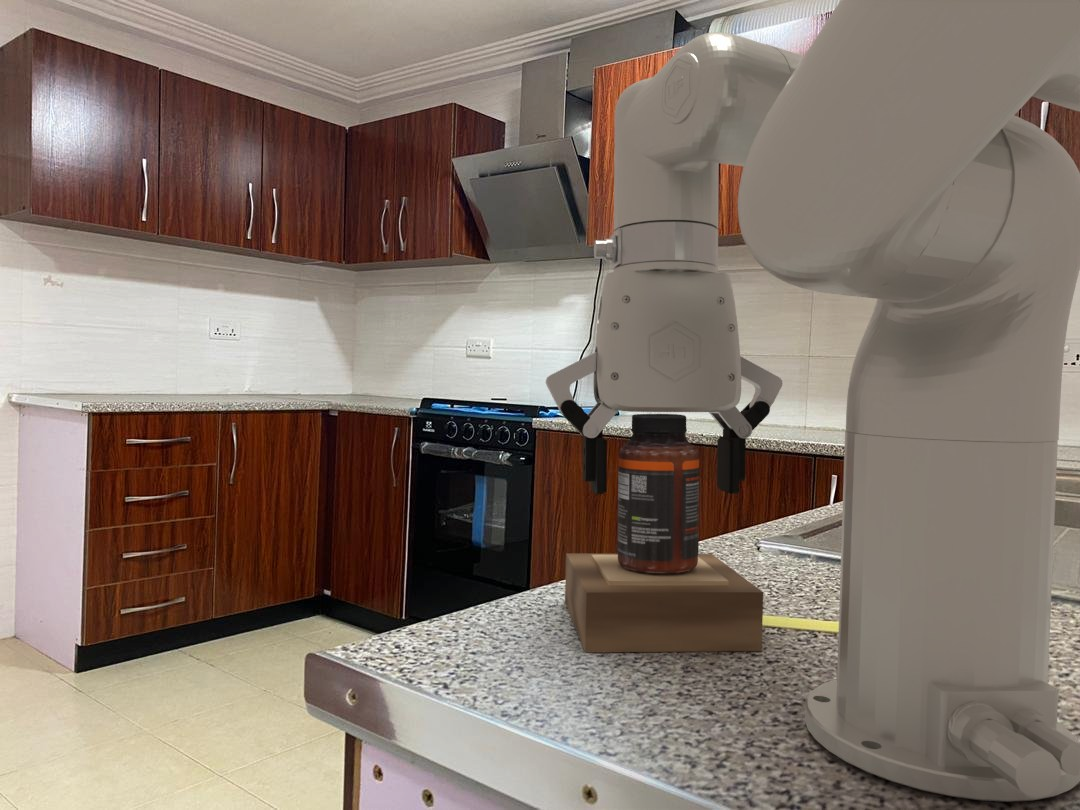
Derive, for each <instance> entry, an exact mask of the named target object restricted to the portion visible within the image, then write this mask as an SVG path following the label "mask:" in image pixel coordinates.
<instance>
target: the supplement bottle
mask: <svg viewBox="0 0 1080 810" xmlns="http://www.w3.org/2000/svg"><path fill="white" fill-rule="evenodd" d="M630 431H631V433H632V436H630V438H629V439H628V441H627V442H626V443H624V444H623V445H622V446H621V448H620V449H619V451H618V452H619V453H618V470H617V471H618V472H617V473H618V483H617V485H618V489H617V495H618V497H617V500H618V501H617V504H618V505H617V554H618V562H619V564H620V565H621V566H623V567H624V568H625V569H627V570H631V571H636V572H641V573H647V574H662V575H664V574H679V573H685V572H688V571H690V570H692V569H694V568H695V567H696V566H697V563H698V554H699V544H700V543H699V538H700V537H699V535H700V534H699V530H700V529H699V528H700V527H699V526H700V525H699V524H700V523H699V521H700V520H699V519H700V517H699V516H700V454H699V451H698V449H697V448H696V447H695V445H693V444H692V443H690V442H689V440H688V439H687V436H686V434H687V431H688V430H687V416H686V415H685V414H676V413H675V414H674V413H640V414H638V413H637V414H636V413H635V414H632V415H631V430H630Z"/></svg>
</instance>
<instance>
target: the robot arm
mask: <svg viewBox="0 0 1080 810" xmlns="http://www.w3.org/2000/svg"><path fill="white" fill-rule="evenodd" d="M1032 97H1034V98H1036V99H1039V100H1042V101H1045V102H1047V103H1051V104H1053V105H1055V106H1056V105H1057V106H1059V107H1062V108H1066V109H1069V110H1073V111H1076V112H1080V0H840V1H839V2H838V3H837V5H836V6H835V8H834V10H833V11H832V12H831V14H830V16H829V17H828V19H827V21H826V22H825V23H824V25H823V26H822V28H821V29H820V32H819V33H818V35H817V36H816V37H815V39H814V40H813V42H812V44H811V45H810V47H809V48H808V50H807V51H806V53H805V54H804V55H802V54H799V53H795V52H793V51H789V50H787V49H783V48H779V47H776V46H773V45H770V44H767V43H766V44H765V43H762V42H758V41H756V40H753V39H749V38H746V37H744V36H741V35H736V34H733V33H729V32H721V31H714V32H712V31H711V32H706V33H703V34H700V35H698V36H696V37H694V38H692V39H691V40H689V41H688V42H686V43H685V44H684V45H683V46H682V47H680V48H679V49H678V51H676V52H675V54H673V55H672V56H671V58H669V60H668V61H667V62H666V63H665V64H664V65H663V66H662V67H661V68H660V69H659V70H658V71H657V73H655V74H654V76H652V77H648V78H645V79H642V80H641V79H640V80H639V81H637V82H634V83H632V84H631V85H629V86H628V87H627V88H625V89H624V90H623V91H622V92H621V93H620V95H619V97H618V99H617V102H616V105H615V109H614V110H615V112H614V165H613V166H614V173H613V174H614V177H613V178H614V179H613V180H614V181H613V182H614V183H613V184H614V185H613V189H614V190H613V191H614V192H613V195H614V196H613V208H614V209H613V231H614V232H613V233H612V235H611V236H610V237H609V238H607V237H606V238H605V239H595V240H594V244H593V256H594V259H602V260H604V261H605V262H606V261H608V262H609V265H611V270H612V272H607V273H606V274H605V277H604V281H603V283H602V290H601V295H600V300H599V308H598V316H597V325H596V336H595V344H594V345H595V347H594V352H593V353H591V354H589V355H587V356H585V357H583V358H582V359H579V360H577V361H575V362H573V363H571V364H570V365H568V366H565V367H564V368H562V369H560V370H557V371H556V372H554V373H552V374H550V375H548V376H547V377H546V379H545V384H546V385H545V386H546V387H547V389H548V391H549V393H550V395H551V397H552V399H553V401H554V402H555V404H556V406H557V408H558V410H559V411H558V412H559V413H560V414H561V415H562V416H563V417H564V418H565V420H567V421H568V423H570V424H571V426H573V427H574V428H575V429H576V431H577V432H579V434H580V435H581V436H582V480H583V482H587V483H588V482H590V490H591V492H593V493H594V494H596V495H604V493H607V489H608V488H607V487H608V486H607V485H608V484H607V483H608V482H607V479H608V478H607V476H608V471H607V469H608V462H607V461H608V454H607V453H608V447H607V446H608V442H607V439H605V438H604V437H603V435H604V434H603V433H604V432H603V431H604V430H603V429H604V428H605V427H606V426H607V425H608V424H609V422H611V420H612V419H613V418H614V416H615V415H616V414H617V413H618V412H619V411H621V412H628V413H629V412H636V413H638V412H639V413H709V414H710V416H711V418H713V419H714V421H715V422H716V424H717V425H719V426H720V428H721V429H722V436H719V438H717V443H716V444H717V447H716V448H717V449H716V452H717V457H716V461H717V463H716V466H717V467H716V468H717V469H716V487H717V489H719V490H720V491H722V492H724V493H728V494H730V495H734V494H735V495H737V494H739V493H740V482H744V481H745V480H746V479H745V478H746V454H747V453H746V447H747V446H746V444H747V443H746V441H747V440H746V439H748V438H750V437H751V435H752V433H753V431H754V430H755V429H756V428H757V427H758V426H759V425H760V424H761V423H762V421H764V420H765V418H766V417H767V416H768V415H769V414H770V411H771V407H772V405H774V403H775V400H776V398H777V396H778V394H780V390H781V388H782V387H783V380H782V378H780V377H779V376H778V375H776V374H774V373H772V372H770V371H769V370H767V369H765V368H763V367H761V366H759V365H758V364H756V363H754V362H752V361H750V360H748V359H746V358H744V357H743V356H741V349H740V348H741V347H740V337H739V326H738V319H737V318H738V317H737V310H736V301H735V295H734V290H733V285H732V280H731V276H730V274H729V273H724V272H719V190H720V189H719V186H720V185H719V184H720V183H719V181H720V180H719V179H720V178H719V175H720V174H719V171H720V170H719V169H720V167H719V166H720V165H719V164H721V165H723V164H724V165H729V166H739V167H743V168H742V172H741V176H740V180H739V186H738V187H739V188H738V193H737V215H738V216H737V218H738V225H739V228H740V233H741V236H742V239H743V241H744V244H745V246H746V248H747V249H748V251H749V253H750V254H751V256H752V258H753V259H754V260H755V261H756V262H757V263H758V264H759V266H761V267H762V268H763V269H765V270H766V271H767V273H769V274H770V275H772V276H774V277H775V278H777V279H778V280H780V281H783V282H785V283H786V284H788V285H792V286H794V287H798V288H801V289H805V290H809V291H812V292H813V291H814V292H817V293H824V294H830V295H840V296H848V297H849V296H850V297H857V298H858V297H859V298H868V299H877V300H876V303H875V306H874V309H873V311H872V314H871V316H870V319H869V322H868V324H867V326H866V328H865V331H864V333H863V336H862V338H861V340H860V343H859V346H858V349H857V351H856V354H855V357H854V360H853V363H852V368H851V373H850V377H849V383H848V389H847V394H846V395H847V398H846V412H845V413H846V414H845V415H846V417H845V430H844V450H843V451H844V452H843V453H844V456H843V482H842V483H843V484H842V485H843V486H842V487H843V488H842V516H841V543H840V577H839V578H840V579H839V603H838V604H839V605H838V607H839V609H838V637H837V638H838V639H837V640H838V641H837V665H836V666H837V667H836V669H837V670H836V673H837V674H836V679H831V680H829V681H827V682H824V683H822V684H820V685H818V686H816V687H815V688H814V689H812V690H811V691H810V692H809V693H808V694H807V696H806V697H805V704H804V709H805V710H804V721H805V724H806V728H807V730H808V731H809V733H810V734H811V736H812V737H813V739H814V740H816V742H817V743H819V744H820V745H821V746H823V748H825V749H826V750H827V751H828V752H830V753H832V754H833V756H834V755H835V756H836V757H837V758H839V759H841V760H842V761H844V762H845V763H848V764H850V765H852V766H854V767H856V768H857V769H860V770H862V771H864V772H866V773H869V774H871V775H874V776H876V777H879V778H882V779H885V780H887V781H890V782H892V783H896V784H899V785H903V786H907V787H909V788H914V789H916V790H919V791H924V792H930V793H933V794H939V795H944V796H948V797H955V798H962V799H967V800H968V799H969V800H976V801H988V802H989V801H990V802H991V801H992V802H1005V803H1006V802H1008V803H1009V802H1011V803H1012V802H1025V801H1026V802H1029V801H1037V800H1043V799H1048V798H1053V797H1056V796H1059V795H1060V794H1064V793H1066V792H1068V791H1070V790H1072V789H1073V788H1075V787H1076V786H1077V785H1078V784H1079V783H1080V741H1079V739H1078V738H1077V737H1076V736H1075V735H1074V734H1072V732H1071V731H1069V729H1068V728H1067V727H1065V725H1063V724H1061V723H1059V722H1058V712H1059V710H1058V709H1059V688H1057V687H1055V686H1053V685H1051V684H1049V683H1048V682H1049V681H1048V680H1049V661H1050V659H1049V658H1050V656H1049V655H1050V638H1051V637H1050V633H1051V611H1052V610H1051V609H1052V592H1053V591H1052V590H1053V589H1052V588H1053V587H1052V586H1053V585H1052V584H1053V567H1054V566H1053V563H1054V561H1053V560H1054V543H1055V542H1054V539H1055V538H1054V537H1055V536H1054V535H1055V517H1056V515H1055V513H1056V494H1057V493H1056V491H1057V489H1056V488H1057V471H1058V470H1057V468H1058V467H1057V464H1058V463H1057V462H1058V441H1059V439H1060V438H1059V437H1060V414H1061V413H1060V412H1061V397H1062V396H1061V395H1062V382H1063V381H1062V380H1063V379H1062V378H1063V367H1064V366H1063V365H1064V356H1065V355H1064V354H1065V346H1066V345H1065V344H1066V340H1067V332H1068V325H1069V324H1068V323H1069V318H1070V313H1071V308H1072V303H1073V300H1074V299H1073V298H1074V295H1075V290H1076V285H1077V281H1078V277H1079V274H1080V171H1079V169H1078V166H1077V165H1076V163H1075V161H1074V159H1073V158H1072V156H1070V154H1069V153H1068V150H1066V149H1065V148H1064V147H1063V146H1062V145H1061V144H1060V143H1059V142H1058V140H1056V139H1055V138H1054V137H1053V136H1052V135H1051V134H1050V133H1048V132H1046V131H1045V130H1043V129H1042V128H1041V127H1039V126H1037V125H1036V124H1034V123H1032V122H1030V121H1027V120H1025V119H1023V118H1021V117H1020V116H1016V114H1017V113H1018V112H1019V111H1020V110H1021V109H1022V108H1023V106H1024V105H1025V104H1027V102H1028V101H1029V100H1030V99H1031V98H1032ZM591 374H593V396H594V400H595V402H596V403H595V405H594V406H593V407H592V408H591V409H590V411H589V412H588V413H587V412H586V411H585V410H583V408H582V407H581V406H580V405H579V404H577V402H576V401H575V399H574V397H573V394H572V392H571V390H570V388H571V385H572V384H574V383H576V382H577V381H580V380H581V379H583V378H585V377H587V376H590V375H591ZM742 380H743V381H745V382H747V383H749V384H751V385H752V386H753V387H754V390H755V391H754V394H753V397H752V399H751V401H750V402H749V403H748V404H747V405H745V407H744V408H743V409H742V410H741V411H740V410H739V409H738V408H737V406H738V404H739V403H740V400H741V395H742V394H741V393H742Z"/></svg>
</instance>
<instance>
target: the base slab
mask: <svg viewBox="0 0 1080 810" xmlns="http://www.w3.org/2000/svg"><path fill="white" fill-rule="evenodd" d="M564 583H565V587H564V588H565V590H564V593H565V594H564V604H565V606H566V608H567V611H568V614H569V616H570V618H571V620H572V623H573V626H574V628H575V631H576V633H577V635H578V638H579V641H580V643H581V645H582V648H583V651H584V653H654V652H655V653H661V652H662V653H666V652H667V653H668V652H669V653H670V652H671V653H674V652H681V653H682V652H684V653H685V652H689V653H690V652H695V653H696V652H697V653H698V652H763V651H762V647H763V646H762V645H763V619H764V617H763V616H764V615H763V614H764V613H763V612H764V591H762V590H761V589H760V588H759V587H757V586H756V585H754V584H753V583H751V582H750V581H749V580H748V579H746V578H745V577H743V575H741V574H739V573H738V572H737V571H736V570H734V569H733V568H731V567H730V566H729V565H727V564H726V563H724V562H723V561H722V560H721V559H719V558H718V557H717V556H715V555H714V554H713V553H698V563H697V566H696V567H695V568H694V569H692V570H690V571H688V572H685V573H679V574H664V575H662V574H647V573H641V572H636V571H631V570H627V569H625V568H624V567H623V566H621V565H620V564H619V562H618V553H572V552H571V553H568V552H567V553H565V582H564Z"/></svg>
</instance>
